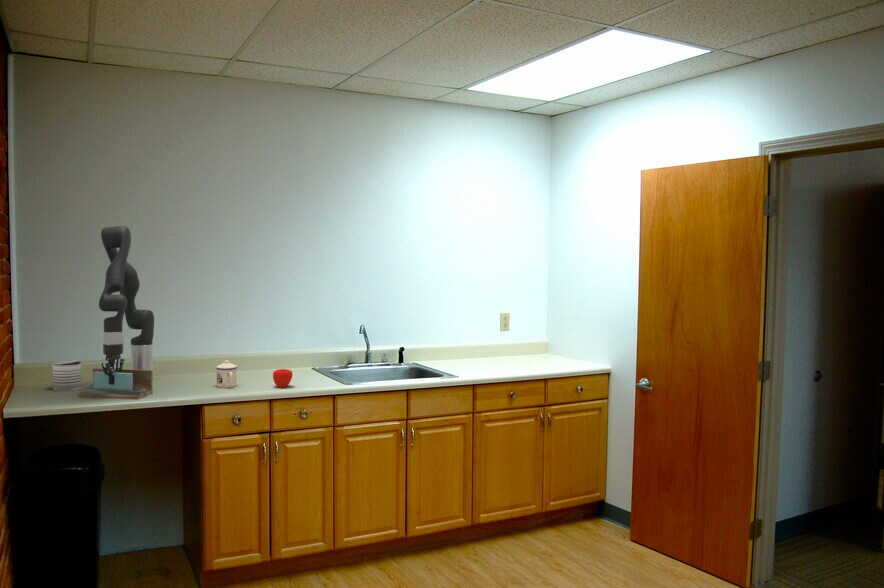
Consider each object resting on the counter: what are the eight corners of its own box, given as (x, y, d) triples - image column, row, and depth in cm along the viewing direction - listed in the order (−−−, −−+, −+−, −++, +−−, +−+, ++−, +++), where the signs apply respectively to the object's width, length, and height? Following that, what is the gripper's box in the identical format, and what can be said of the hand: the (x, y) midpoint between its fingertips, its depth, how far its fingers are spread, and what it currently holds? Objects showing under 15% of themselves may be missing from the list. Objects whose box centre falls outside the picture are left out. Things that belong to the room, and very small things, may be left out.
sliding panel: (96, 389, 295) (96, 371, 294) (132, 391, 293) (132, 373, 293) (93, 390, 293) (93, 372, 292) (130, 391, 291) (130, 374, 291)
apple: (295, 387, 319) (295, 370, 319) (276, 389, 315) (276, 371, 314) (288, 384, 327) (289, 367, 326) (270, 385, 322) (270, 368, 322)
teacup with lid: (213, 385, 321) (213, 359, 320) (233, 383, 326) (233, 358, 325) (221, 389, 311) (221, 363, 310) (241, 388, 316) (241, 362, 315)
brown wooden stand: (94, 391, 302) (94, 367, 301) (152, 393, 299) (152, 370, 299) (77, 396, 290) (77, 372, 289) (137, 399, 287) (137, 375, 287)
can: (67, 391, 300) (66, 363, 299) (45, 389, 303) (45, 361, 302) (87, 386, 311) (87, 359, 310) (67, 385, 314) (66, 358, 313)
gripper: (114, 340, 299) (114, 380, 300) (94, 344, 285) (94, 386, 286) (130, 341, 298) (130, 381, 299) (112, 344, 285) (112, 387, 286)
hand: (113, 383), depth 293 cm, fingers closed on sliding panel, 1 cm apart
